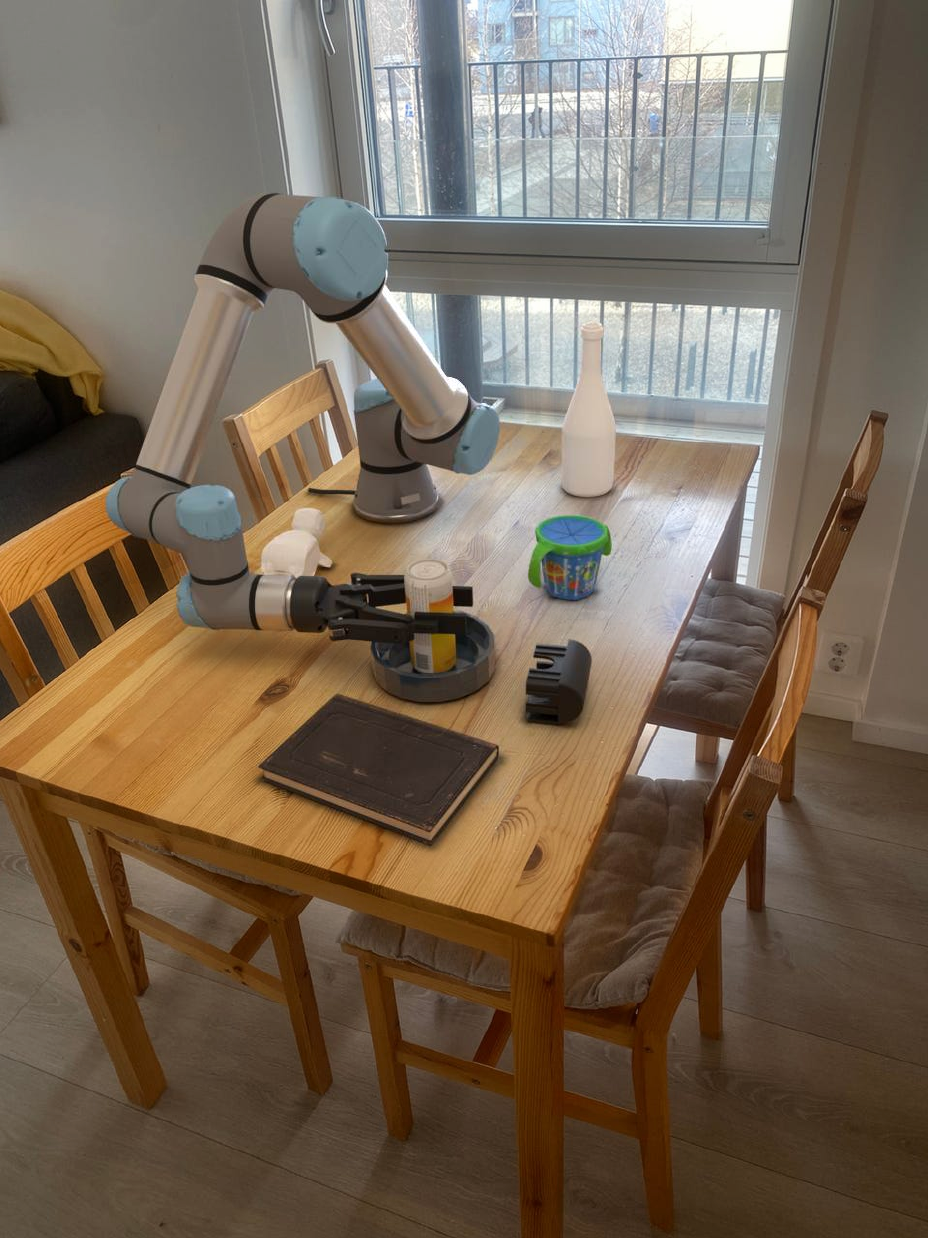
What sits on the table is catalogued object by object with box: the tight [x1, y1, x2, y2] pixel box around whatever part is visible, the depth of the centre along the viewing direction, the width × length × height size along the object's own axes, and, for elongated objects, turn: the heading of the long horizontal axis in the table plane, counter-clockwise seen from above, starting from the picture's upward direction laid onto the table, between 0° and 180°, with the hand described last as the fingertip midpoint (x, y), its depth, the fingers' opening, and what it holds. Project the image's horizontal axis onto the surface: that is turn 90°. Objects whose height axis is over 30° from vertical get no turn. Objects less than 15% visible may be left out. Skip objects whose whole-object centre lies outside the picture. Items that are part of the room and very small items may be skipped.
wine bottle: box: [560, 321, 617, 498], centre depth 167 cm, size 10×10×30 cm
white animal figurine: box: [260, 507, 333, 578], centre depth 151 cm, size 9×8×15 cm
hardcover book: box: [257, 693, 500, 846], centre depth 110 cm, size 16×23×2 cm
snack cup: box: [527, 514, 613, 601], centre depth 141 cm, size 16×10×10 cm
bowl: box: [370, 609, 496, 703], centre depth 127 cm, size 16×16×4 cm
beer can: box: [403, 557, 456, 674], centre depth 123 cm, size 6×6×15 cm
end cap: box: [525, 638, 593, 726], centre depth 118 cm, size 10×7×7 cm
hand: (469, 610), depth 122 cm, fingers closed on beer can, 6 cm apart
